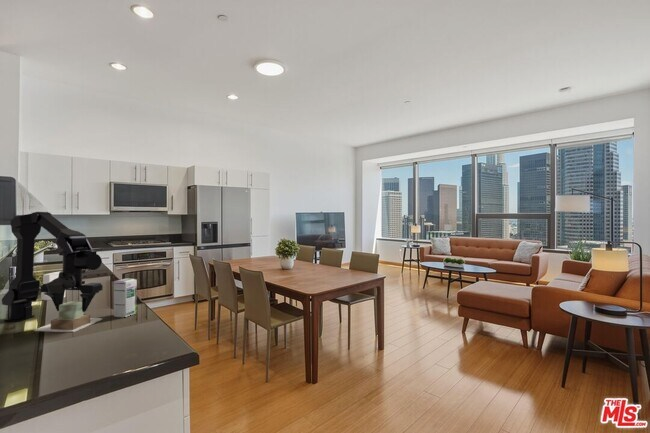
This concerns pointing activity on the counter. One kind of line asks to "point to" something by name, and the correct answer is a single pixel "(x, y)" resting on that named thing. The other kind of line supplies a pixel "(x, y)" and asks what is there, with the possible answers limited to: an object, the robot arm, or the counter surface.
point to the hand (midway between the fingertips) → (71, 311)
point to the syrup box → (125, 297)
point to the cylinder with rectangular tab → (47, 279)
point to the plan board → (48, 327)
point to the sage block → (70, 310)
